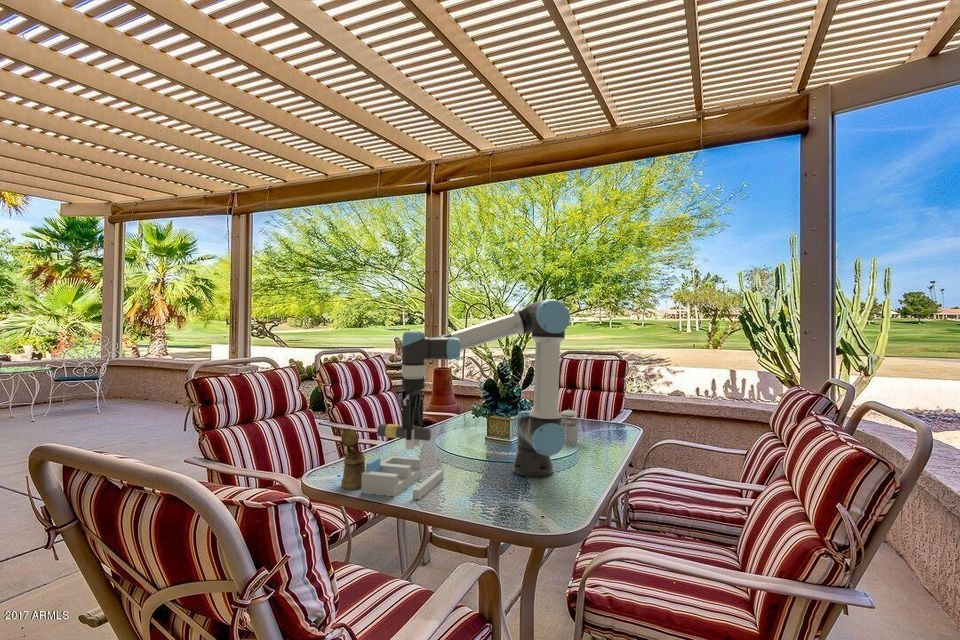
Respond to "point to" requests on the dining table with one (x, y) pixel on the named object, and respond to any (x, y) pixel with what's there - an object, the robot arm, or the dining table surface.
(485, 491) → the dining table surface
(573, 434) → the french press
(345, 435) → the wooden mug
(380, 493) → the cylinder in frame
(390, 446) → the dining table surface
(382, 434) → the rod
